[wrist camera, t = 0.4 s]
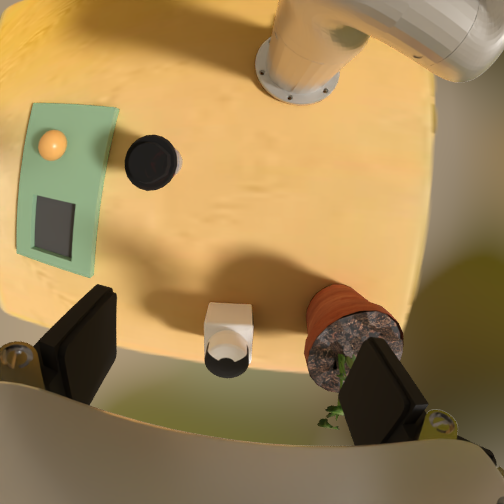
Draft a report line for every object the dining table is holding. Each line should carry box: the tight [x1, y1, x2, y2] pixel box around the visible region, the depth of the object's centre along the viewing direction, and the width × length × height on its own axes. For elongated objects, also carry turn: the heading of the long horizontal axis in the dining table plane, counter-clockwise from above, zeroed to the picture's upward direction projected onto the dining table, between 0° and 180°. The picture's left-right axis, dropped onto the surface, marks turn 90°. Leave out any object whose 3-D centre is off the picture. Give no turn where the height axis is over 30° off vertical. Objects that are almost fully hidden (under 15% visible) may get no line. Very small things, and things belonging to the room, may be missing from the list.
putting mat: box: [17, 103, 119, 278], centre depth 42 cm, size 28×18×2 cm, turn 166°
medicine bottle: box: [204, 302, 254, 378], centre depth 44 cm, size 7×7×12 cm
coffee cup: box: [125, 135, 182, 191], centre depth 37 cm, size 7×7×10 cm
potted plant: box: [304, 284, 403, 429], centre depth 33 cm, size 16×15×35 cm
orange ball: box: [38, 130, 67, 161], centre depth 37 cm, size 5×5×5 cm
